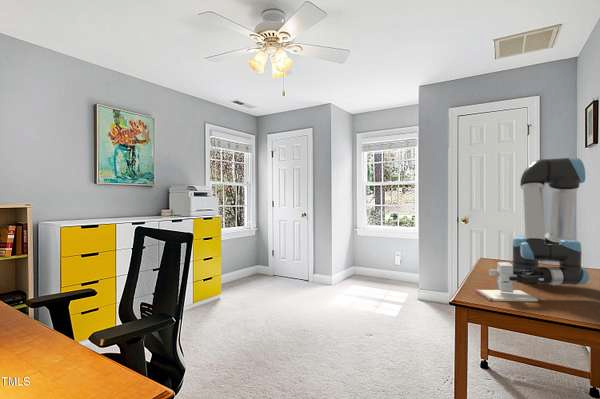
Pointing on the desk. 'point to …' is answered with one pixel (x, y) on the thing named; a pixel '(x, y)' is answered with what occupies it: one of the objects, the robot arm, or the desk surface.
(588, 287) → the desk surface
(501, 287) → the ink box
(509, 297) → the notepad
